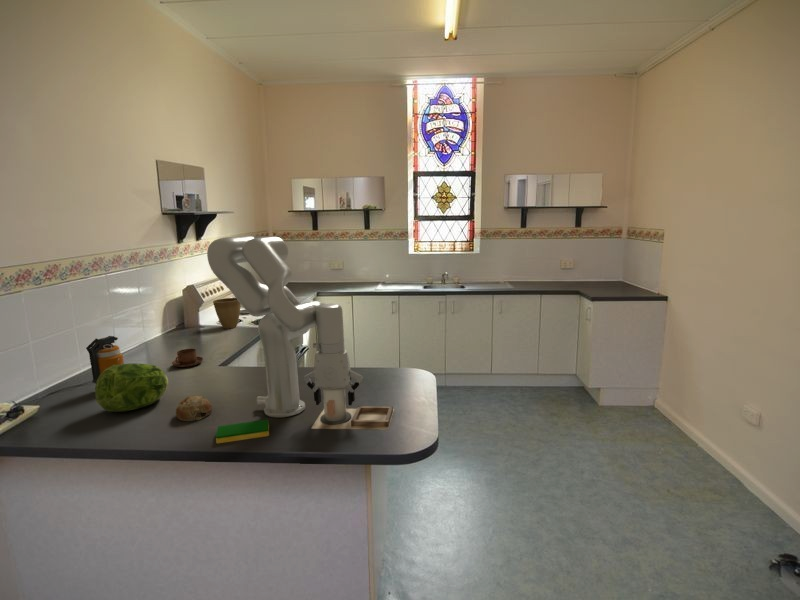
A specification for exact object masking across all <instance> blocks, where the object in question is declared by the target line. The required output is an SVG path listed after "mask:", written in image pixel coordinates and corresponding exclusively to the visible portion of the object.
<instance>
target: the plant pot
mask: <svg viewBox="0 0 800 600" xmlns="http://www.w3.org/2000/svg"><path fill="white" fill-rule="evenodd" d="M212 304H213V307H214V310H215V313H216V316H217V318H218V321H219V322H220V324H221V326H222V328H223V329H233V328H237V327H236V326H238V323H239V319H240V313H241V306H242V305H241V303H240V302H239V301H238V300H237V298H236V297H226V298H219V299H214V300H213V301H212Z"/></svg>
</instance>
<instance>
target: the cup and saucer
mask: <svg viewBox="0 0 800 600" xmlns="http://www.w3.org/2000/svg"><path fill="white" fill-rule="evenodd" d="M176 354H177V356H176V357H175V360H174V361H172V362H171V364H172V365H173V366H174V367H175V368H176V367H177V368H190V367H193V366H197V365H199V364H200V363H202V362H203V360H204V358H203V357H202V356H198V355H197V349H195V348H185V349H181V350H178V351H177V352H176Z"/></svg>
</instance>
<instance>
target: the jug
mask: <svg viewBox="0 0 800 600" xmlns="http://www.w3.org/2000/svg"><path fill="white" fill-rule="evenodd" d="M322 397H323V409H324V414H325V419H326V420H327V421H340V420H343V419H345V418H346V417H347V413H346V409H347V401H346V400H347V399H346V387H322Z"/></svg>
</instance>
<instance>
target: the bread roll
mask: <svg viewBox="0 0 800 600" xmlns="http://www.w3.org/2000/svg"><path fill="white" fill-rule="evenodd" d="M212 410H213V407H212V404H211V402H210V401H209V400H208V399H206V398H205V397H204V396H202V395H190V396H189V395H188V396H187V397H186V398H184V399H182V401H180V403H178V406H177V407H176V409H175V416H176V418H177V420H179V421H182V422H195V421H201V420H202V419H204V418H206V417H208V416H210V415H211V413H212Z"/></svg>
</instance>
